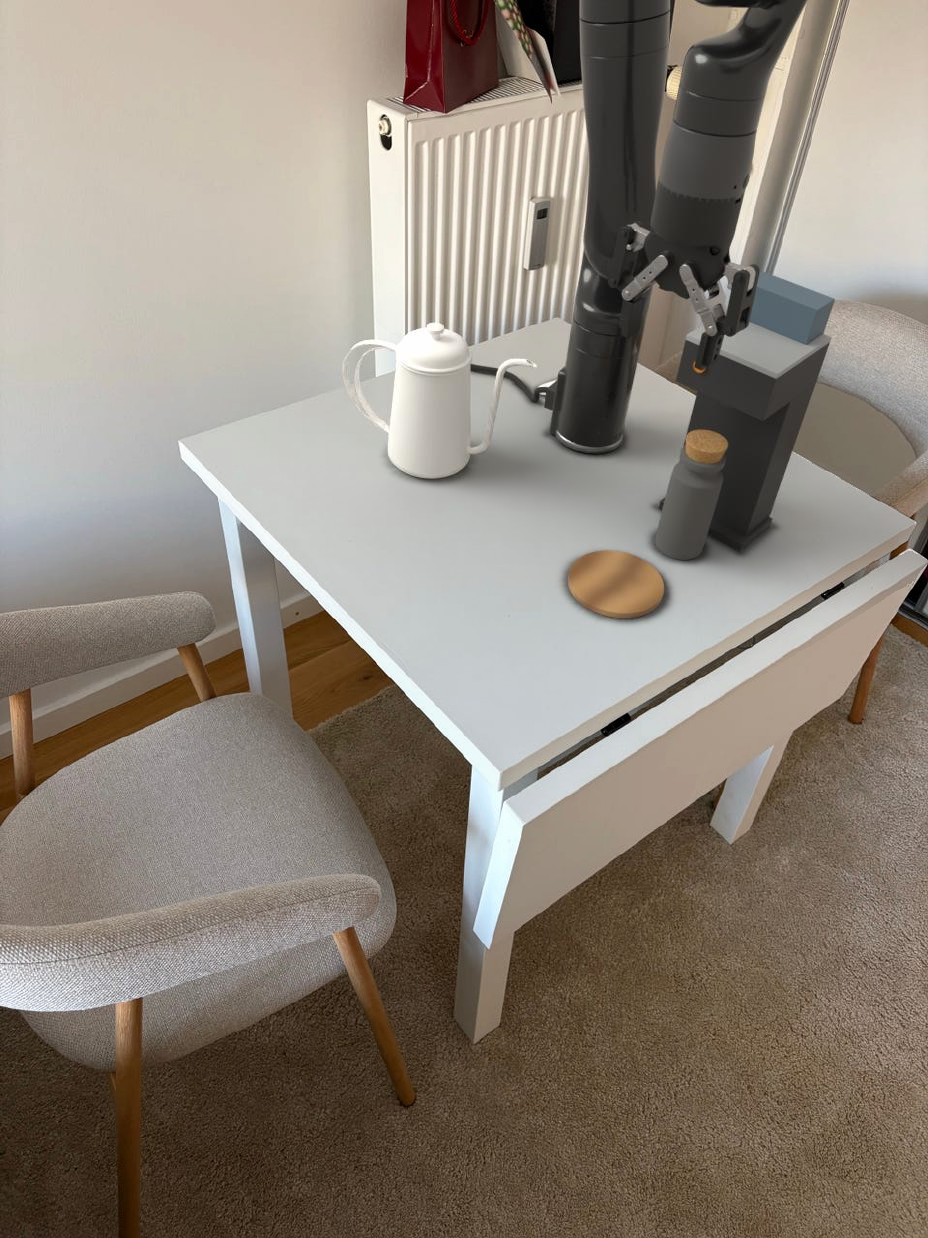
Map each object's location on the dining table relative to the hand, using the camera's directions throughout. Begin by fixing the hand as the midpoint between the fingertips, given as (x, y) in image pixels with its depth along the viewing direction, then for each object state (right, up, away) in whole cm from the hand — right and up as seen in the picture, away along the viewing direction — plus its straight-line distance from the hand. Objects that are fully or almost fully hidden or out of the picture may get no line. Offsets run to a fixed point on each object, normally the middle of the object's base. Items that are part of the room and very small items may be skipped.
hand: (665, 350), depth 96 cm
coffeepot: (-24, -5, +34) cm, 42 cm away
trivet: (-2, -22, +17) cm, 28 cm away
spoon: (-2, +10, +52) cm, 53 cm away
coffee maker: (+10, -14, +27) cm, 32 cm away
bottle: (+6, -17, +24) cm, 30 cm away
